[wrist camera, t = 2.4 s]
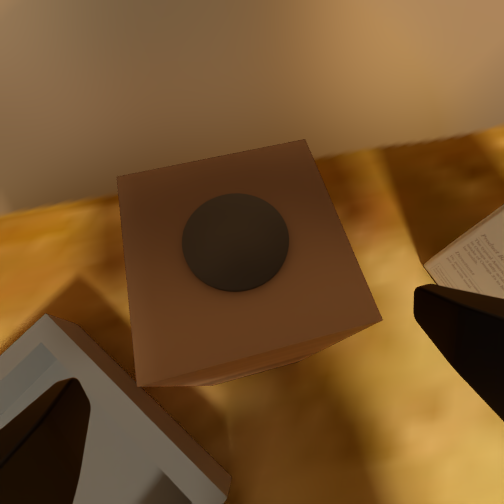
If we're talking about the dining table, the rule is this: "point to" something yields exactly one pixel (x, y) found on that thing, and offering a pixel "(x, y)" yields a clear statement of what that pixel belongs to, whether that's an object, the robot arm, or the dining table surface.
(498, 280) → the supplement box
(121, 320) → the dining table surface
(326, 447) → the dining table surface
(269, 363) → the block
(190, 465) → the tray
